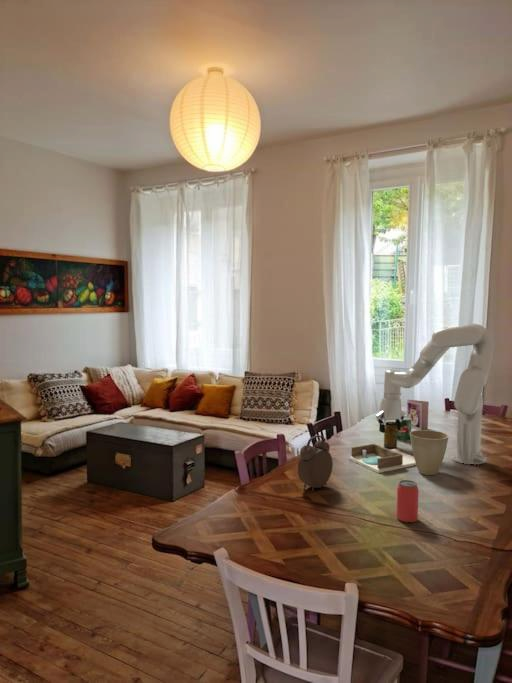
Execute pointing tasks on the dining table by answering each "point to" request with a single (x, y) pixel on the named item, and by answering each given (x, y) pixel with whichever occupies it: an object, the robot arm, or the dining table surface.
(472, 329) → the robot arm
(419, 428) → the pink box
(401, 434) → the canned tomato
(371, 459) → the board
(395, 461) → the tray
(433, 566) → the dining table surface
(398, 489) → the beer can
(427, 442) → the plant pot
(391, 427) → the condiment
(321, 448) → the alarm clock
